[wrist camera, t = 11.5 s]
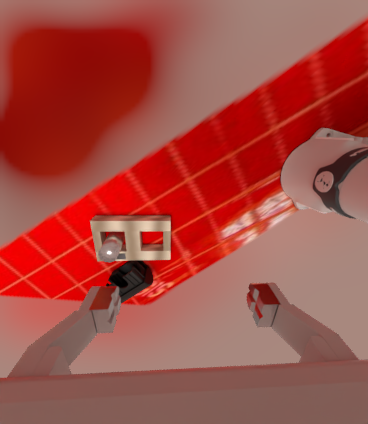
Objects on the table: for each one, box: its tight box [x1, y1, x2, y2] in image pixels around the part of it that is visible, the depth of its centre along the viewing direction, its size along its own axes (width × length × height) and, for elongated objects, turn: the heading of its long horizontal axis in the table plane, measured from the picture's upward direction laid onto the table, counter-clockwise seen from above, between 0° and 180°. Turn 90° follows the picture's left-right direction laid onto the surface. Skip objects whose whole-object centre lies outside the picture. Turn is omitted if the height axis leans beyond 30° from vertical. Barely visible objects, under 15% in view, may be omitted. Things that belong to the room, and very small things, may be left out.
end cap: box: [106, 260, 153, 303], centre depth 47 cm, size 10×7×7 cm
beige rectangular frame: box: [90, 216, 171, 261], centre depth 44 cm, size 18×11×3 cm, turn 88°
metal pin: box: [98, 231, 125, 262], centre depth 41 cm, size 4×4×8 cm
